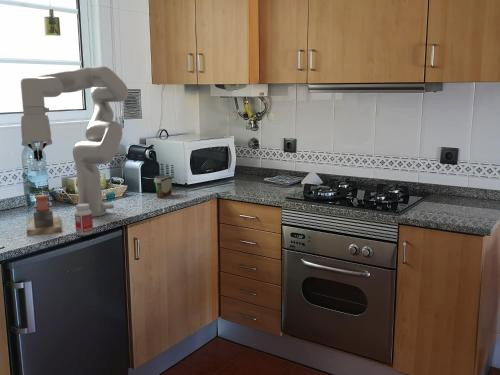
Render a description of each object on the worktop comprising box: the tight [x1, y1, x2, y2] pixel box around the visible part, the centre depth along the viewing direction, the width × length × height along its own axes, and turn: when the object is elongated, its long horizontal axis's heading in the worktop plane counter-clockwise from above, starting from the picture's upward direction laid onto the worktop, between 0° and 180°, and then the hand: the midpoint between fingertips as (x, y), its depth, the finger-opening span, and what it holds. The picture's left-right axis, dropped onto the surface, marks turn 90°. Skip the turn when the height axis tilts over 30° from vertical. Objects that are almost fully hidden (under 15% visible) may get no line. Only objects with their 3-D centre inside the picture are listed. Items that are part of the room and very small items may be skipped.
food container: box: [153, 174, 173, 200], centre depth 266 cm, size 12×6×10 cm, turn 161°
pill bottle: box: [74, 203, 94, 236], centre depth 198 cm, size 6×6×11 cm
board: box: [26, 201, 63, 236], centre depth 210 cm, size 12×22×8 cm, turn 21°
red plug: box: [35, 194, 49, 212], centre depth 204 cm, size 4×4×9 cm
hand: (38, 160), depth 200 cm, fingers closed
